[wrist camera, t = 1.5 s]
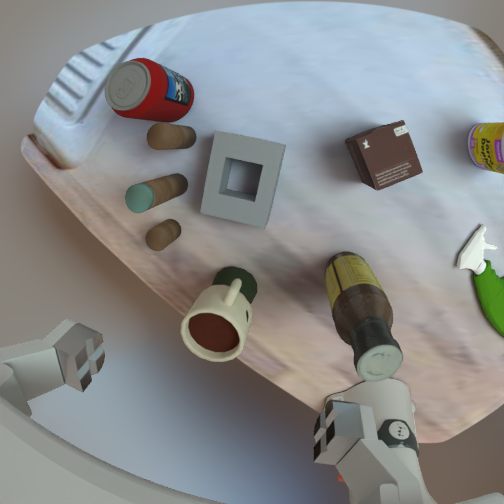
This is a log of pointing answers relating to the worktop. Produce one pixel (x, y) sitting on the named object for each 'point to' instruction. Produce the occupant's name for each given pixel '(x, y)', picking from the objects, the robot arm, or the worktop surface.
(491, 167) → the supplement bottle
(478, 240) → the spray bottle
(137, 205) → the long pin
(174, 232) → the short pin
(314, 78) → the worktop surface
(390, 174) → the box
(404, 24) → the worktop surface
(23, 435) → the robot arm
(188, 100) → the beverage can
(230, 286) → the character mug
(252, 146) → the socket block
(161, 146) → the medium pin
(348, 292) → the sauce bottle
